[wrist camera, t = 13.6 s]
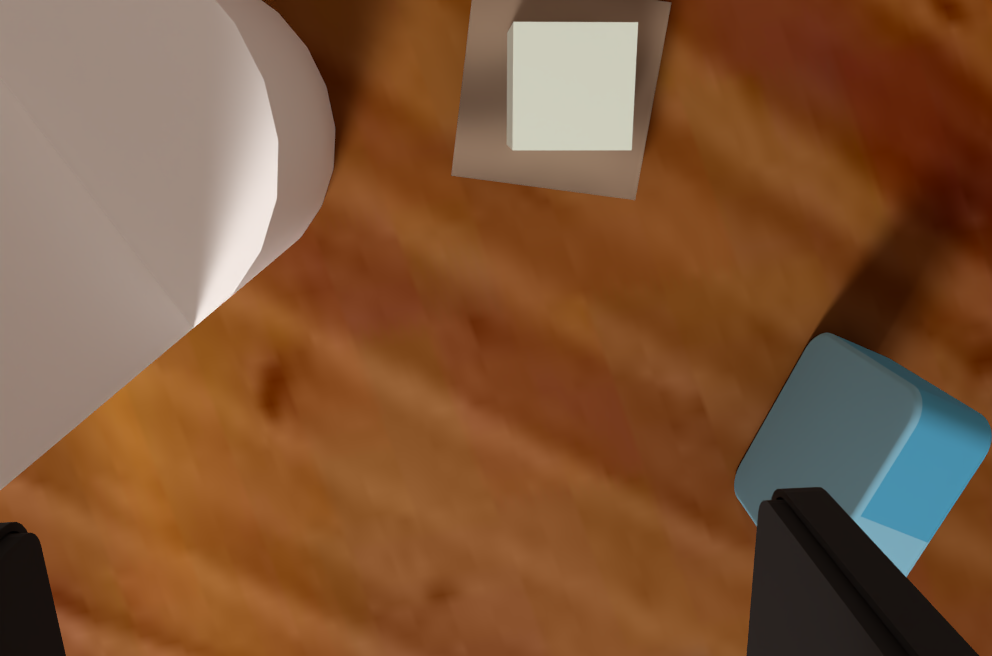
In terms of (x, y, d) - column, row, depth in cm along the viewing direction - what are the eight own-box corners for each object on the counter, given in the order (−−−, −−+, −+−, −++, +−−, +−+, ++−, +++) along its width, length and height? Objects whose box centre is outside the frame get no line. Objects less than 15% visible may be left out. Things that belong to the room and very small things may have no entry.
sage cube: (507, 32, 39) (513, 21, 33) (615, 33, 39) (637, 22, 34) (506, 144, 40) (512, 150, 35) (610, 144, 40) (631, 150, 35)
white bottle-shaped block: (155, 335, 46) (-273, 661, 19) (-48, 79, 42) (-975, 40, 15) (395, 183, 44) (288, 311, 17) (209, -105, 40) (-325, -533, 13)
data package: (785, 507, 51) (878, 625, 40) (726, 485, 51) (803, 597, 39) (877, 350, 48) (1006, 429, 37) (816, 324, 48) (928, 395, 36)
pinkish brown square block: (474, -16, 42) (475, -28, 38) (652, 11, 42) (671, 2, 39) (452, 169, 44) (451, 175, 41) (620, 191, 45) (635, 199, 41)
